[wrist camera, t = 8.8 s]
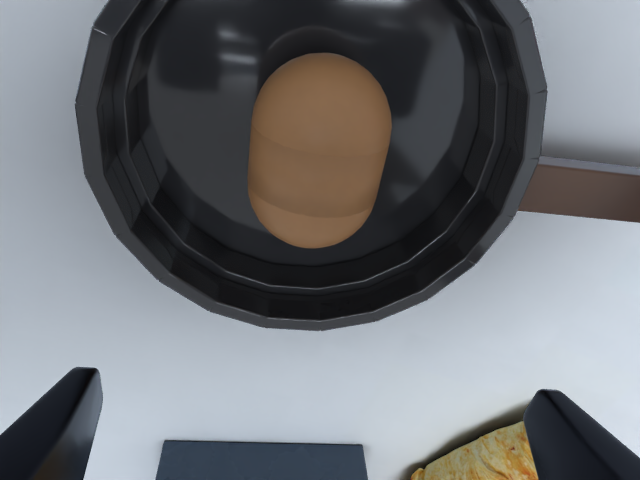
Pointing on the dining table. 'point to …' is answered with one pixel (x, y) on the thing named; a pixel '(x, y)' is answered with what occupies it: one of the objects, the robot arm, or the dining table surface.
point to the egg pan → (234, 141)
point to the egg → (317, 149)
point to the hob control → (260, 461)
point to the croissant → (486, 459)
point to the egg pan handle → (584, 190)
